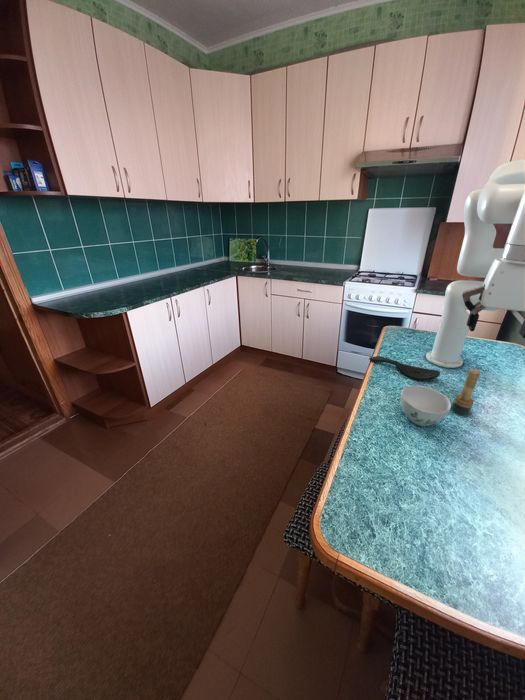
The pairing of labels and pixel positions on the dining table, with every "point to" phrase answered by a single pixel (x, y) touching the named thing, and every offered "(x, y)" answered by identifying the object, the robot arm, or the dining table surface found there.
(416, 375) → the hairbrush
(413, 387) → the teacup
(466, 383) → the dish brush
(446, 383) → the dining table surface
